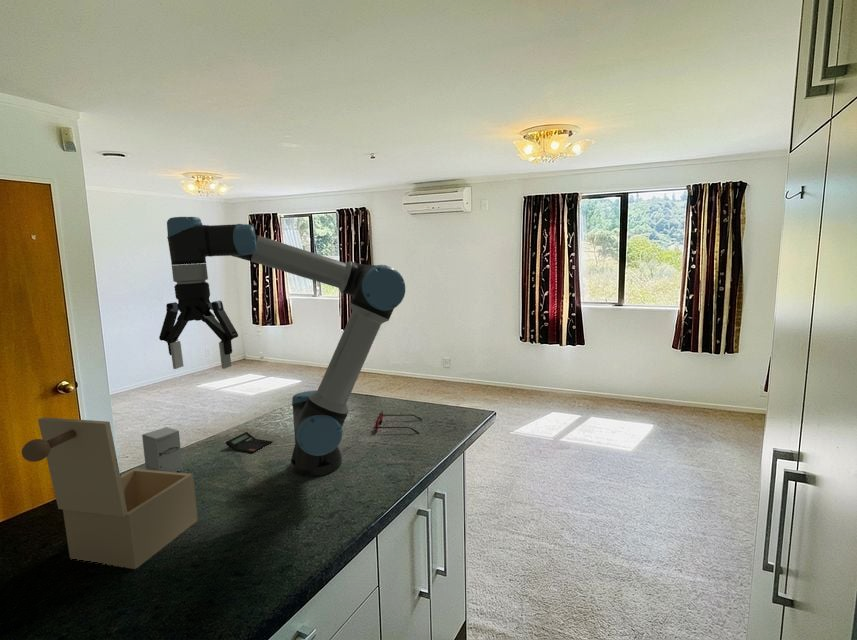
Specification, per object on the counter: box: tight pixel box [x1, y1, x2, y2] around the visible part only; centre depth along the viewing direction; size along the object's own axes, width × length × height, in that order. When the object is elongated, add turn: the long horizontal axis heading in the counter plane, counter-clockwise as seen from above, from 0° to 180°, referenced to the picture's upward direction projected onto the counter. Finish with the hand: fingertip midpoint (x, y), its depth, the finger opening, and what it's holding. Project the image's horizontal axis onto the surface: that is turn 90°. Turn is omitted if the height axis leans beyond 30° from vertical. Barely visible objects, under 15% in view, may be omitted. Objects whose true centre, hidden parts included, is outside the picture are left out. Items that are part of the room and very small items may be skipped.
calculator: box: [225, 431, 274, 454], centre depth 157 cm, size 9×12×3 cm
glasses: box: [373, 410, 423, 435], centre depth 171 cm, size 14×16×5 cm
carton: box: [62, 468, 198, 570], centre depth 105 cm, size 17×18×12 cm
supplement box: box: [141, 426, 184, 473], centre depth 138 cm, size 7×7×13 cm
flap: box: [21, 416, 128, 517], centre depth 88 cm, size 17×20×10 cm
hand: (202, 367), depth 115 cm, fingers open, 13 cm apart
